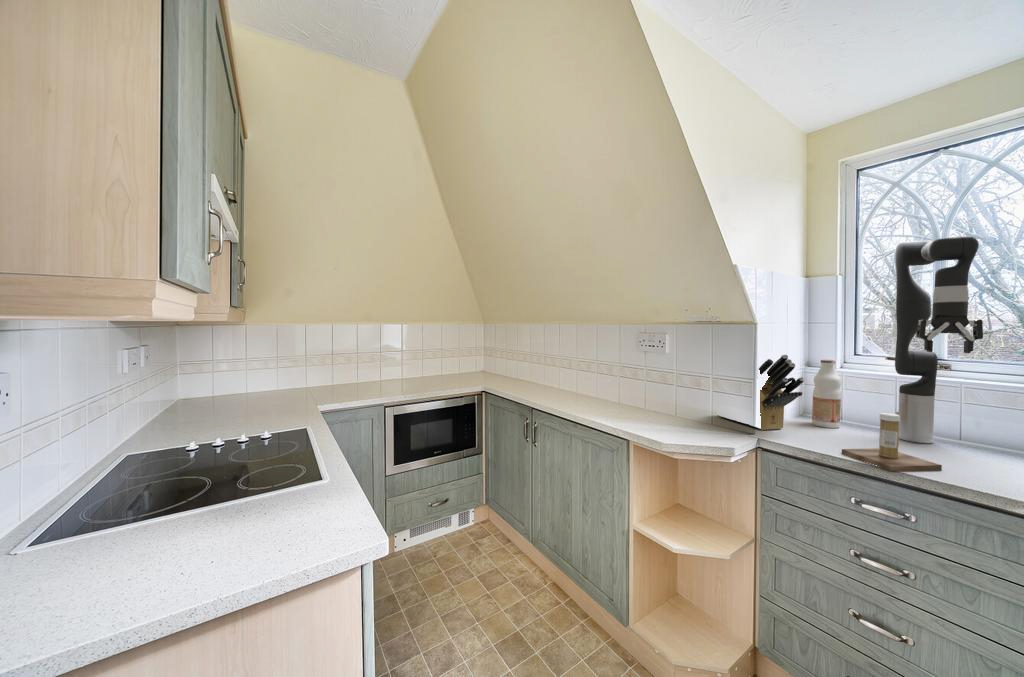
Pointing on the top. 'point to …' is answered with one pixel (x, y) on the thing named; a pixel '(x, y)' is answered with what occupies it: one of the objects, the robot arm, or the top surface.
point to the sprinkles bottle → (889, 435)
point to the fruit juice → (827, 396)
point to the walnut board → (892, 460)
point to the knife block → (777, 392)
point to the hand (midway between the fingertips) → (947, 352)
